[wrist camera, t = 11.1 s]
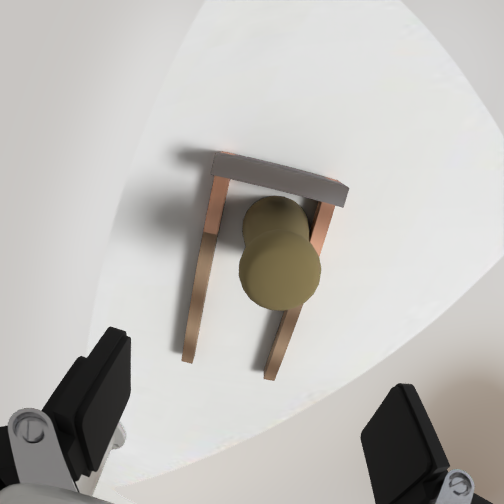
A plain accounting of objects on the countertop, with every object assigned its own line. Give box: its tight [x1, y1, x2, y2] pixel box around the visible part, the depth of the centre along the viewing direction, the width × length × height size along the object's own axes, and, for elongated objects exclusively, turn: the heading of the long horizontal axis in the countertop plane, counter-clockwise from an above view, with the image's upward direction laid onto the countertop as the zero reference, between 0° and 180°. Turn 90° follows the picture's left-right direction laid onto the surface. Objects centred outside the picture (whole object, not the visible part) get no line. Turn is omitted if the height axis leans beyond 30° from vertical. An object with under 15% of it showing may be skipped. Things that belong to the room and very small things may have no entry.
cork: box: [239, 196, 321, 311], centre depth 24 cm, size 6×6×11 cm
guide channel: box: [182, 151, 349, 381], centre depth 29 cm, size 22×10×4 cm, turn 167°
